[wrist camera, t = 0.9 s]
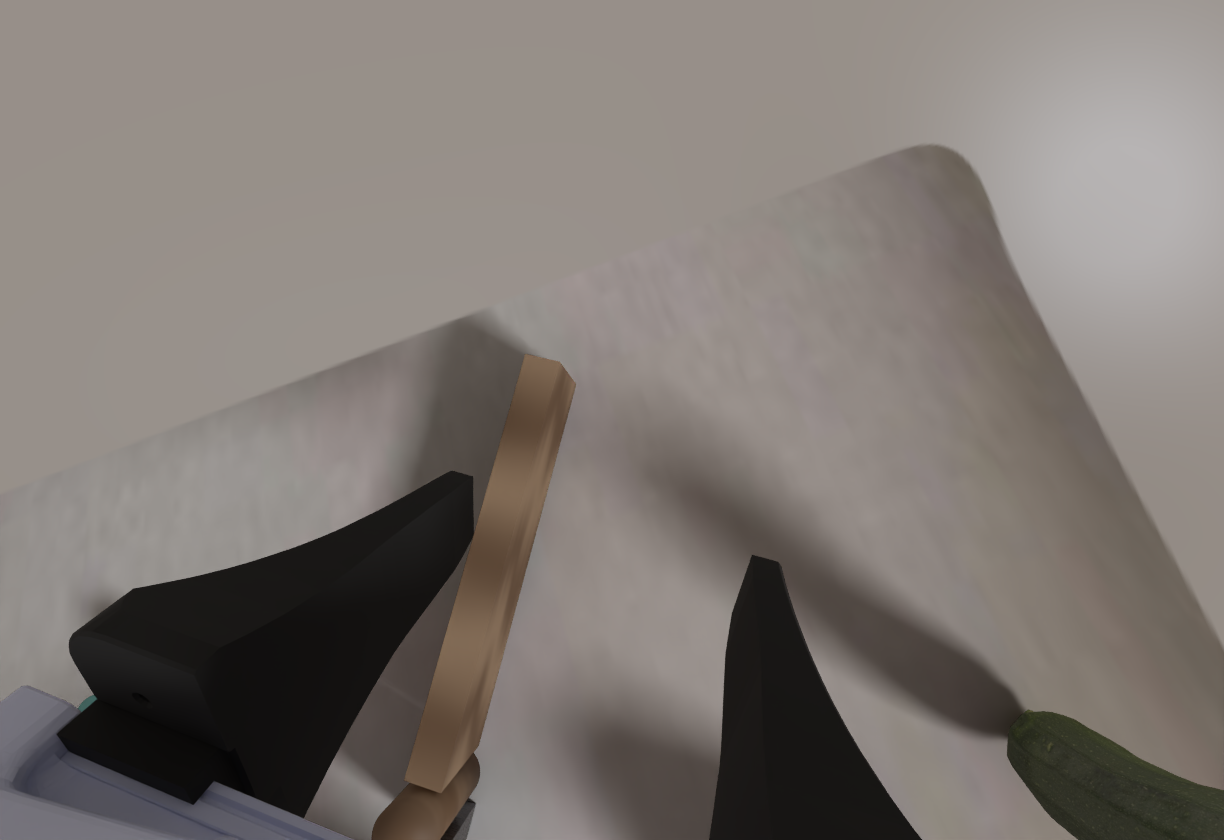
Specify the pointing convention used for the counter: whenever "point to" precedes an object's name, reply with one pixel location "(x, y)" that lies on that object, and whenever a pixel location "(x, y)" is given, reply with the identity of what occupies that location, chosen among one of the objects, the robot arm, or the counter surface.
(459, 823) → the hinge post
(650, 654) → the counter surface
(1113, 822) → the vegetable
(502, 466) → the wooden plank
